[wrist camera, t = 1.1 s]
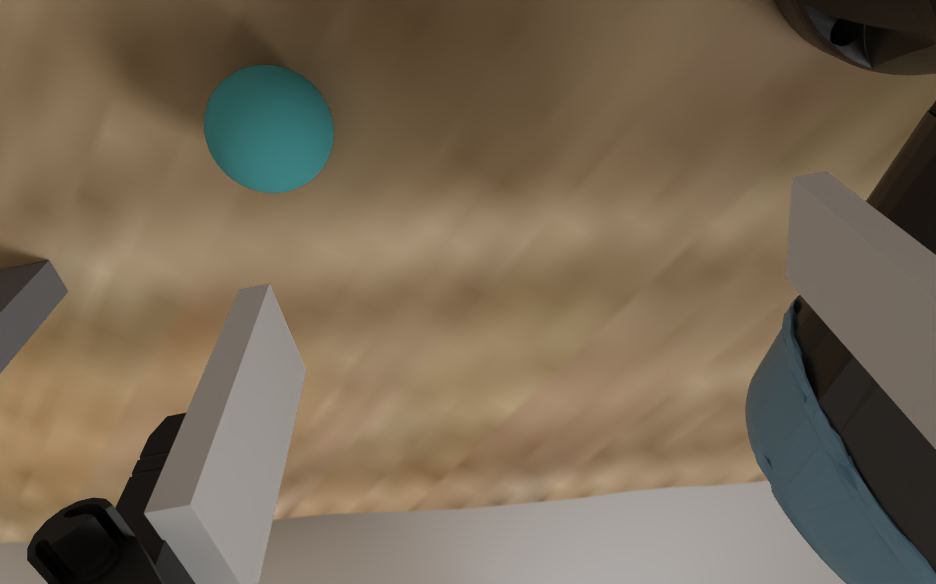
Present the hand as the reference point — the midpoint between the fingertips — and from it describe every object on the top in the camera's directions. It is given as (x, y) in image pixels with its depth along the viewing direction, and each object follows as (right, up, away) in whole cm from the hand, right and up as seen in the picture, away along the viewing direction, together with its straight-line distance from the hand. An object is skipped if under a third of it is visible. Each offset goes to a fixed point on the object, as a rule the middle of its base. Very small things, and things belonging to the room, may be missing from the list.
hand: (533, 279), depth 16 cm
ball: (-10, +7, +14) cm, 18 cm away
